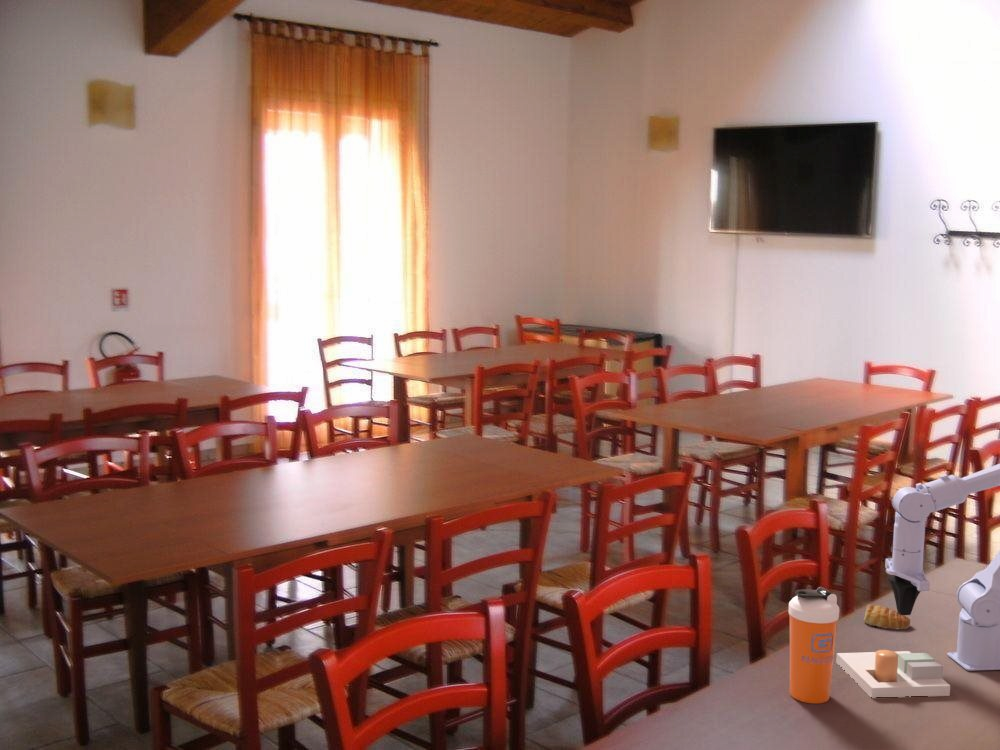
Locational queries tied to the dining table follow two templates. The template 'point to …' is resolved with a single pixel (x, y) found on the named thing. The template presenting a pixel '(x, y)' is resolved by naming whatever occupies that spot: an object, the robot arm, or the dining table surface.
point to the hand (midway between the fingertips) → (904, 613)
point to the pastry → (885, 617)
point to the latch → (913, 659)
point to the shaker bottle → (812, 644)
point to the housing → (911, 683)
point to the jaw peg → (886, 666)
